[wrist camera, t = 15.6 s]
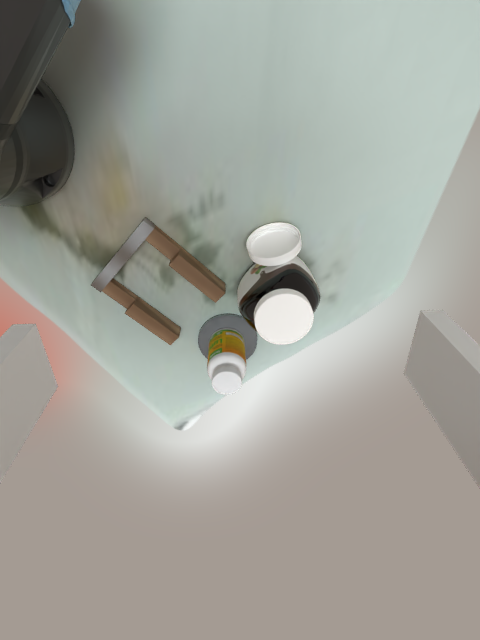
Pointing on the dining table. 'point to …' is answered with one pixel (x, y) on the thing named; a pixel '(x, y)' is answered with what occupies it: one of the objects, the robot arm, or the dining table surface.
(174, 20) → the dining table surface
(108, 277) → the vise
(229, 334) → the supplement bottle
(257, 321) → the spread jar
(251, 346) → the pad
